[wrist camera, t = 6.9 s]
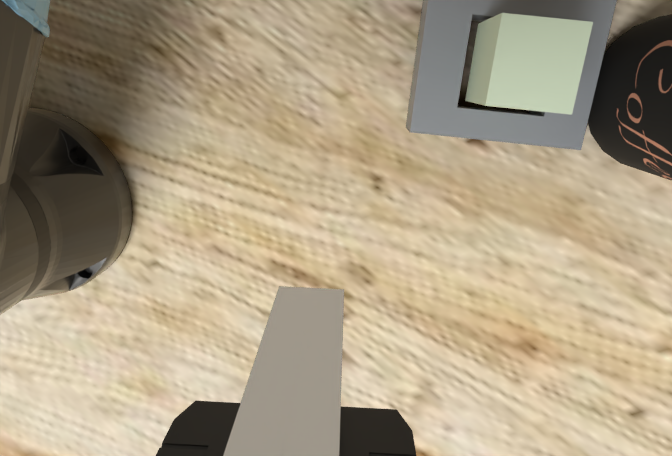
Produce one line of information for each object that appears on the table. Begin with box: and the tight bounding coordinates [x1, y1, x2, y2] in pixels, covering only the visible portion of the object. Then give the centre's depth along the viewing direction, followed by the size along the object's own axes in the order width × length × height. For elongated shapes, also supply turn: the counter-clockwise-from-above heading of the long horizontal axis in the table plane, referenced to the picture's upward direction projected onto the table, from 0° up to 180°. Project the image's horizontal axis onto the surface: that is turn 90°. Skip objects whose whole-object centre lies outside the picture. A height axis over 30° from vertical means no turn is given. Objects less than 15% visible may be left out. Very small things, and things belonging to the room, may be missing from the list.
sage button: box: [465, 13, 593, 115], centre depth 31 cm, size 5×5×6 cm
